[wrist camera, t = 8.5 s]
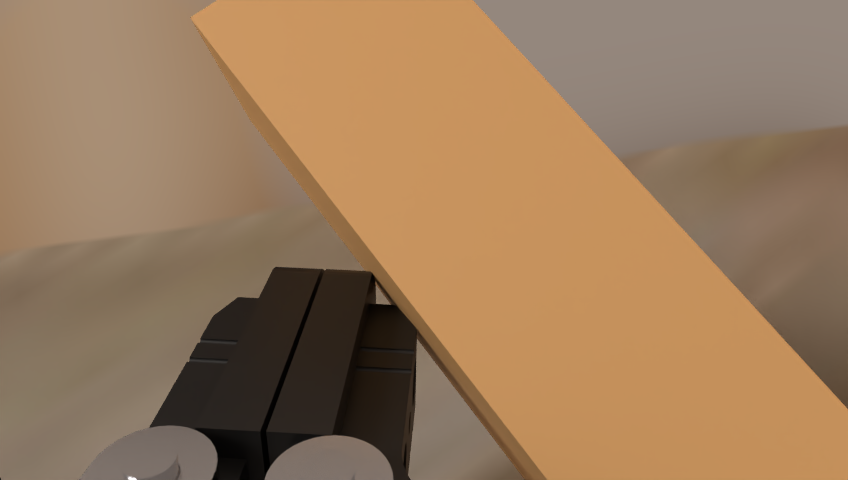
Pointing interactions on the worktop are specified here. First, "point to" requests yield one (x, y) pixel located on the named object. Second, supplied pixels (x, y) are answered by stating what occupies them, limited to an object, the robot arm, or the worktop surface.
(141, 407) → the worktop surface
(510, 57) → the light brown wooden bar
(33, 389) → the worktop surface
